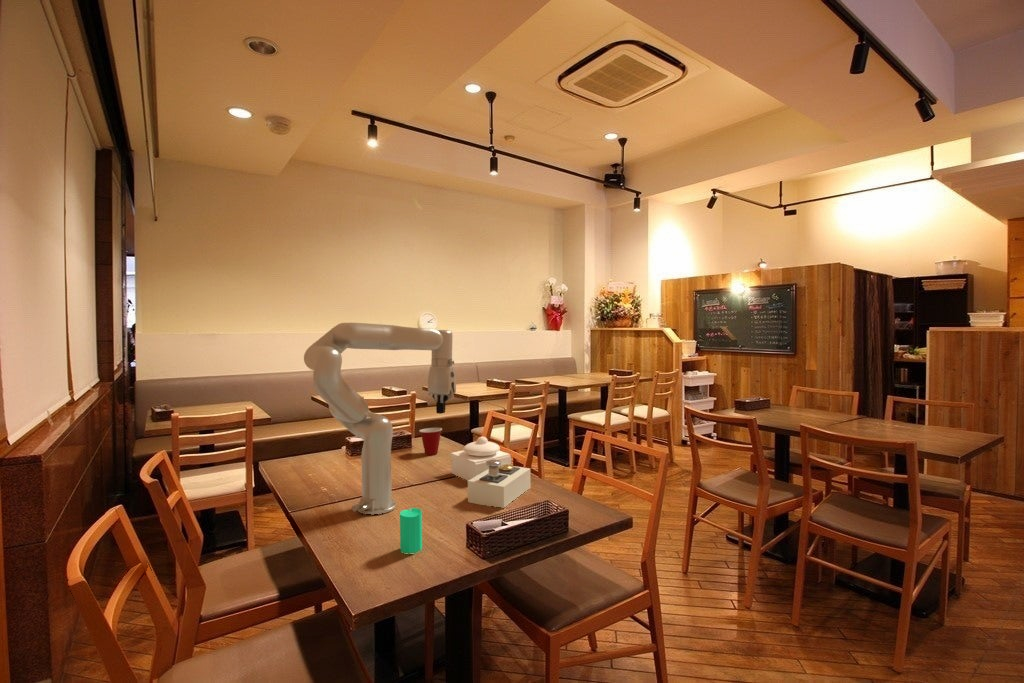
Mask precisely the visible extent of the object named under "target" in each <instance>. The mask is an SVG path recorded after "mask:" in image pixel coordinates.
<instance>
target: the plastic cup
mask: <svg viewBox="0 0 1024 683" xmlns="http://www.w3.org/2000/svg"><path fill="white" fill-rule="evenodd" d="M442 431H443V428H442V427H430V428H429V427H427V428H423V429H422V428H421V429H419V433H420V436H421V440H422V446H423V450H424V455H426V454H427V455H426V456H435V455H434V454H436V455H437V454H438V452H439V445H440V440H441V439H440V438H441V434H442Z"/></svg>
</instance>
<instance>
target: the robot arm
mask: <svg viewBox="0 0 1024 683" xmlns="http://www.w3.org/2000/svg"><path fill="white" fill-rule="evenodd" d="M347 349H354V350H383V351H401V350H402V351H403V350H405V351H406V350H407V351H408V350H409V351H431V359H430V360H431V362H430V364H431V366H430V367H429V370H428V376H427V392H428V397H431V398H433V400H434V402H435V403H436V407H435V409H436V410H435V411H436V414H439V415H441V414H445V413H446V405H447V404H446V402H448V400H449V399H453V398H455V395H454V394H455V393H456V392H457V379H456V372H455V368H454V366H453V365H454V364H455V361H454V360H453V332H452V331H451V330H449V329H435V328H426V327H425V328H424V327H423V328H421V327H411V326H410V327H409V326H408V327H407V326H400V325H394V324H383V323H382V324H381V323H378V324H377V323H366V322H341V323H338V324H337V325H335V326H334V327H332V328H331V329H329V331H327V332H326V333H325V334H323V335H322V336H321V337H320V338H319V339H317V340H316V341H315V342H313V343H312V344H311V345H310V346H309V347H308V348H307V349H306V350H305V352H304V355H303V361H304V362H303V363H304V364H305V366H306V367H307V368H308V370H309V369H310V370H312V371H313V372H312V381H313V386H314V389H315V392H316V393H317V395H318V396H319V397H320V398H321V399H322V400H323V401H324V402H325V403H326V404H328V410H329V413H330V414H331V416H332V417H333V418H335V420H336V421H337V422H339V424H341V425H342V426H343V427H344V428H345V429H347V430H348V431H349V432H350V433H351V434H353V435H354V436H355V437H357V438H358V439H360V440H363V445H362V450H361V456H360V457H361V458H360V459H361V462H360V463H361V497H360V498H359V501H358V503H356V504H354V505H352V506H351V510H352V512H355V513H356V511H358V512H359V513H360V514H362V513H363V514H362V515H366V514H371V515H370V516H375V515H374V514H378V515H382V513H383V514H387V513H389V512H391V511H393V510H395V509H396V508H397V501H396V500H394V499H392V494H393V493H392V444H393V443H392V441H393V436H394V428H393V424H392V422H391V421H390V420H389V418H388V417H387V416H384V415H383V414H379V413H375V412H373V411H371V410H369V408H370V407H369V404H368V402H367V400H366V399H365V398H364V397H362V395H360V394H359V392H356V390H355V389H354V388H353V387H352V386H350V385H349V383H347V381H346V380H345V379H344V378H343V377H342V373H341V372H342V364H343V357H342V353H344V351H345V350H347Z"/></svg>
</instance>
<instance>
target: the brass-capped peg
mask: <svg viewBox="0 0 1024 683" xmlns="http://www.w3.org/2000/svg"><path fill="white" fill-rule="evenodd" d="M500 470H501V471H507V472H510V471H512V470H514V465H513V464H511V465H508V464H505V465H501V466H500Z"/></svg>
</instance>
